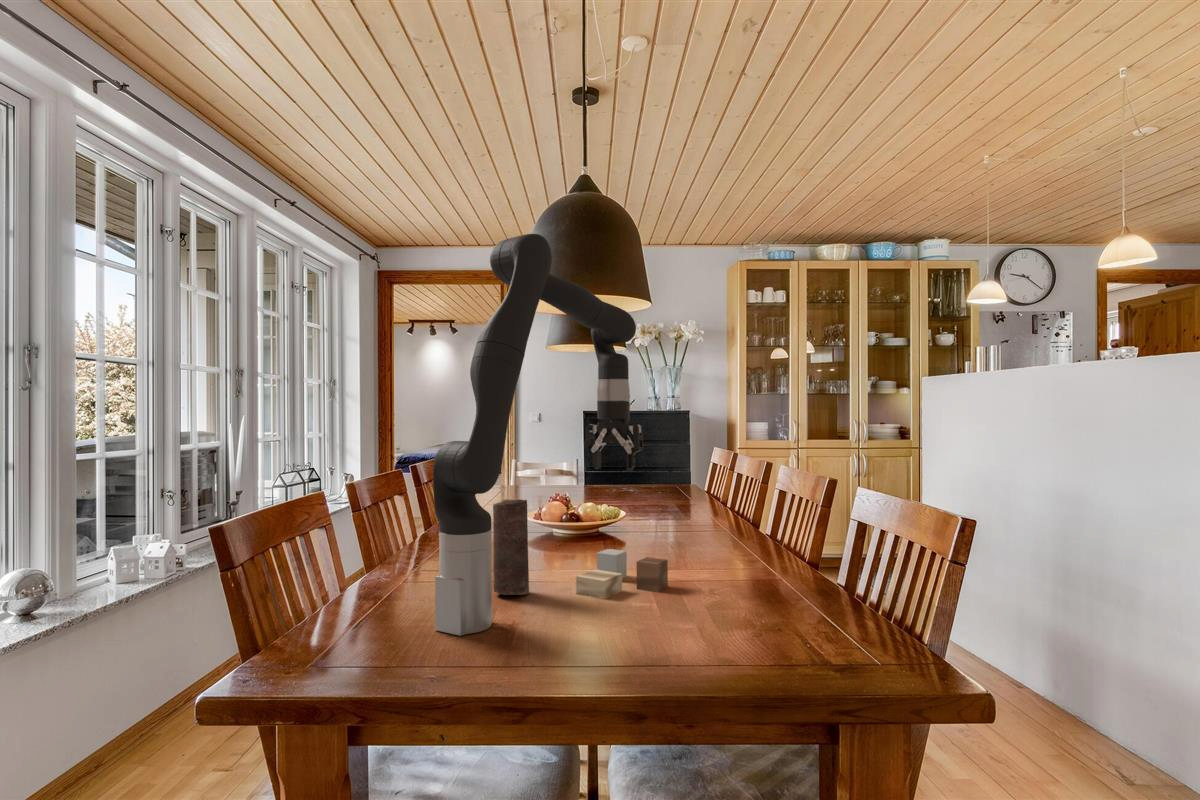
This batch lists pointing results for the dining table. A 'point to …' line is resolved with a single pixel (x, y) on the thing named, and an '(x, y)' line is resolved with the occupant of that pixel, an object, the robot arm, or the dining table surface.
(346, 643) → the dining table surface
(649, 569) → the walnut block
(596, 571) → the maple base
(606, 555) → the grey block
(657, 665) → the dining table surface
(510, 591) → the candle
